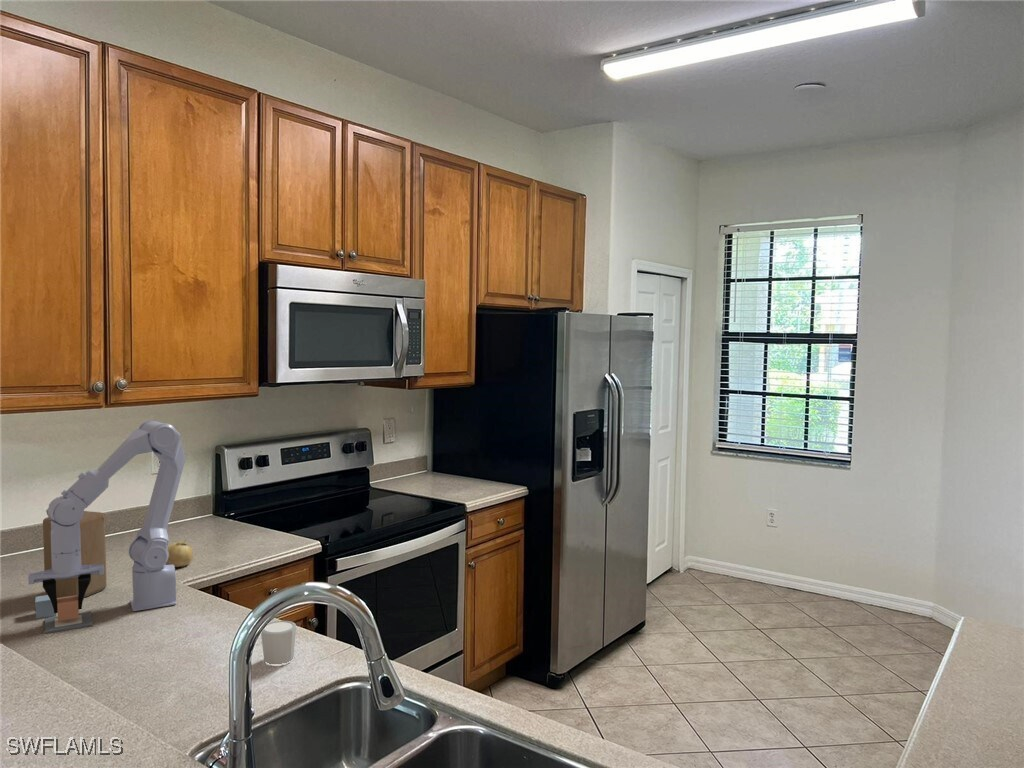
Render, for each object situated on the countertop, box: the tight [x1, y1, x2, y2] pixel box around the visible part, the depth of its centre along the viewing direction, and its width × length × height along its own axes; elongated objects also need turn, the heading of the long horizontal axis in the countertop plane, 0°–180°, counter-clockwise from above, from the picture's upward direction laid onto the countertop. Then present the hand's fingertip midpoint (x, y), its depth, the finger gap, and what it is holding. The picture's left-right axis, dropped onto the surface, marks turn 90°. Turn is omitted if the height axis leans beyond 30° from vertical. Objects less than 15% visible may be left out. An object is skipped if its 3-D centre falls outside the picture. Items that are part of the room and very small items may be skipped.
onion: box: [165, 539, 194, 568], centre depth 211 cm, size 8×8×7 cm
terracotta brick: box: [57, 595, 80, 621], centre depth 170 cm, size 4×4×4 cm
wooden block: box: [42, 510, 108, 598], centre depth 188 cm, size 10×10×20 cm
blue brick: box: [34, 594, 57, 620], centre depth 174 cm, size 4×4×4 cm
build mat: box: [44, 610, 93, 634], centre depth 170 cm, size 9×9×1 cm
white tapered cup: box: [260, 620, 297, 664], centre depth 151 cm, size 7×7×7 cm
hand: (68, 609), depth 169 cm, fingers closed on terracotta brick, 4 cm apart
